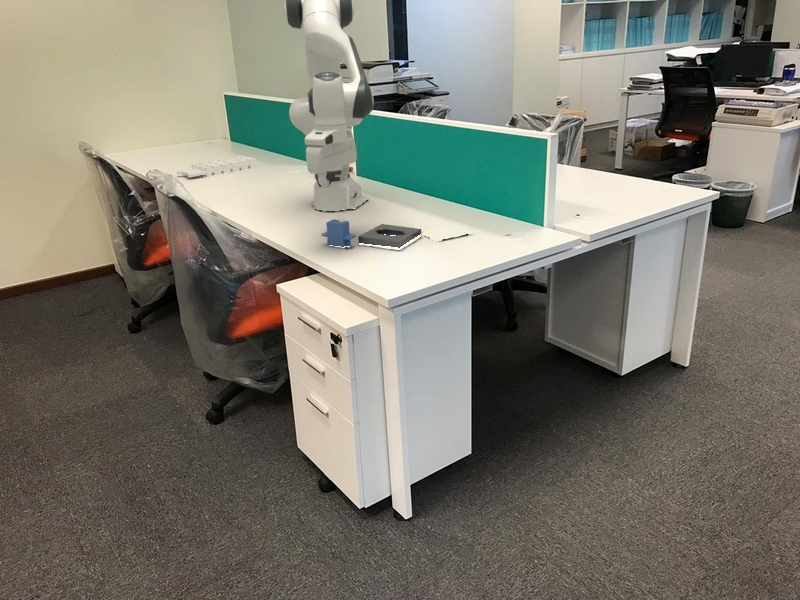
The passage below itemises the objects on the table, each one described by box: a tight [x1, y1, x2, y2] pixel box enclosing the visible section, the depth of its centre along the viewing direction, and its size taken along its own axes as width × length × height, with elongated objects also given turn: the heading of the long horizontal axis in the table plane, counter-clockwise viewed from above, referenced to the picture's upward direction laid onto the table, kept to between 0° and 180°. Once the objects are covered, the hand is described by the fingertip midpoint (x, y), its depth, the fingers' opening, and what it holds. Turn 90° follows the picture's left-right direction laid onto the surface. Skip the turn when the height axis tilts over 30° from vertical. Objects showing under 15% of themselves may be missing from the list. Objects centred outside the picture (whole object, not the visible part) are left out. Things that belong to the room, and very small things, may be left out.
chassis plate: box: [357, 223, 422, 248], centre depth 189 cm, size 14×14×3 cm
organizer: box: [176, 155, 258, 178], centre depth 294 cm, size 13×5×35 cm
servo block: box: [320, 218, 357, 247], centre depth 186 cm, size 4×10×8 cm, turn 61°
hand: (334, 183), depth 180 cm, fingers open, 8 cm apart
